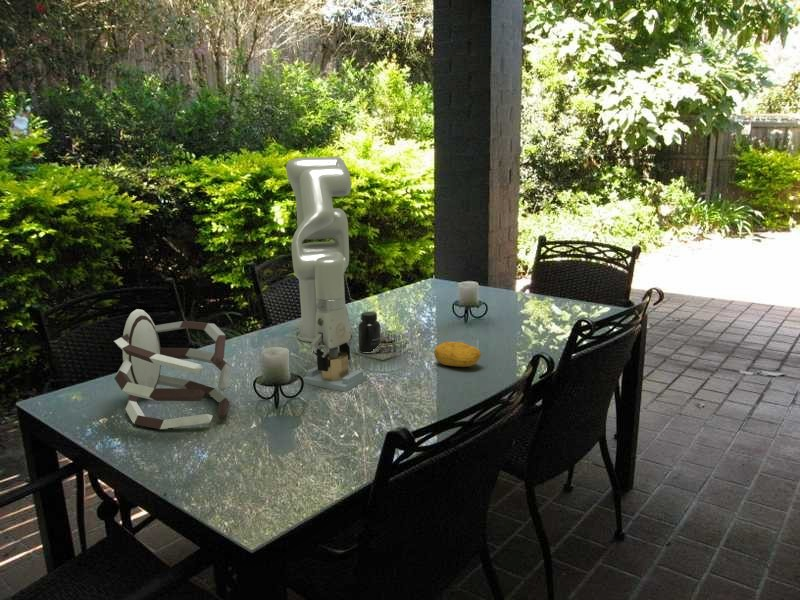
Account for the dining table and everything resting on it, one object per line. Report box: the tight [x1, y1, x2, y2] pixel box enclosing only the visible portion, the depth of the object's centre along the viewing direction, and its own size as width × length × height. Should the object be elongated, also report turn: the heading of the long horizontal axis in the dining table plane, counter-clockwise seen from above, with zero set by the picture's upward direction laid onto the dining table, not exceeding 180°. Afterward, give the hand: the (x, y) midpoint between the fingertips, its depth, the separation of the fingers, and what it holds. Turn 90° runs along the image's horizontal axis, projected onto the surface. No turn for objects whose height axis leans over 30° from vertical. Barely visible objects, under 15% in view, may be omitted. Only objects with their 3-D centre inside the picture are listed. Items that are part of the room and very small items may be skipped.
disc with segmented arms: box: [113, 308, 232, 430], centre depth 160 cm, size 24×27×35 cm
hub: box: [321, 350, 350, 381], centre depth 178 cm, size 7×7×6 cm
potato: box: [433, 341, 482, 368], centre depth 188 cm, size 8×14×7 cm, turn 56°
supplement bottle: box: [357, 311, 382, 353], centre depth 202 cm, size 7×7×12 cm
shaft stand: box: [302, 347, 368, 393], centre depth 178 cm, size 14×10×10 cm
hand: (334, 364), depth 178 cm, fingers open, 9 cm apart
